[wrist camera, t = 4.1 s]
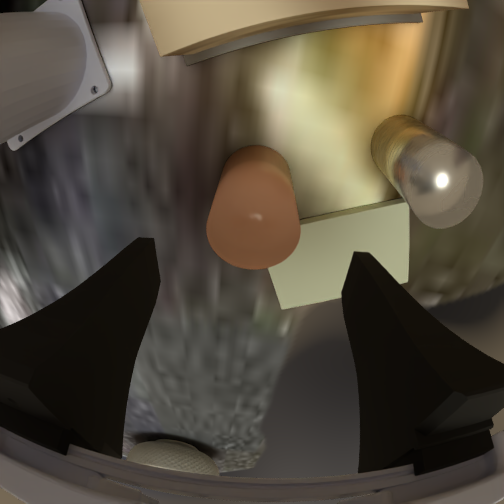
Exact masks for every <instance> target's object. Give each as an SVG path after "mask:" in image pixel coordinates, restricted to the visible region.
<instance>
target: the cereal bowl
mask: <svg viewBox="0 0 504 504" xmlns="http://www.w3.org/2000/svg"><path fill="white" fill-rule="evenodd" d="M126 461H130V462H135V463H139V464H144V465H149V466H154V467H159V468H164V469H170V470H176V471H182V472H189V473H197V474H205V475H215V476H219V470H218V467H217V465H216V464H215V462H214V461H213V460H212V459H211V458H210V457H209V456H207V455H206V454H204V453H202V452H200V451H198V450H197V448H196V447H194V446H192V445H190V444H187V443H184V442H181V441H176V440H170V439H159V440H156V441H148V442H143V443H140V444H137V445H136V446H134V447H133V448H132V449H131V450H130V452H129V454H128V456H127V459H126Z"/></svg>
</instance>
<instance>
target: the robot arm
mask: <svg viewBox="0 0 504 504" xmlns="http://www.w3.org/2000/svg"><path fill="white" fill-rule="evenodd" d="M95 86H97V88H98V92H97V93H95V92H94V87H95ZM110 89H111V81H110V79H109V76H108V74H107V71H106V68H105V66H104V63H103V61H102V58H101V55H100V53H99V50H98V47H97V44H96V42H95V39H94V36H93V33H92V31H91V28H90V25H89V22H88V19H87V16H86V13H85V10H84V7H83V4H82V1H81V0H47V1H46V2H45V3H43V4H42V5H41V6H40V7H38V8H37V9H36V10H35V11H33V12H11V13H0V144H2V143H4V142H6V141H7V143H8V145H9V147H10V149H11V150H12V151H15V150H17V149H19V148H20V147H21V146H23V145H24V144H25V143H27V142H28V141H29V140H31V139H32V138H34V137H35V136H37V135H38V134H39V133H41V132H42V131H44V130H45V129H47V128H48V127H50V126H51V125H53V124H54V123H56V122H57V121H59V120H61V119H62V118H64V117H65V116H67V115H69V114H70V113H72V112H74V111H75V110H77V109H79V108H80V107H82V106H84V105H86V104H87V103H89V102H91V101H93V100H94V99H96V98H98V97H100V96H102V95H104V94H106V93H107V92H108V91H109V90H110ZM21 136H22V137H23V139H22V137H21ZM160 282H161V280H160V274H159V268H158V262H157V256H156V249H155V242H154V238H141V237H138V238H137V239H136V240H134V241H133V242H132V243H131V244H129V245H128V246H127V247H126V248H124V249H123V250H122V251H121V252H120V253H119V254H117V255H116V256H115V257H114V258H113V259H111V260H110V261H109V262H108V263H107V264H105V265H104V266H103V267H102V268H101V269H99V270H98V271H97V272H95V273H94V274H93V275H92V276H90V277H89V278H88V279H87V280H85V281H84V282H83V283H82V284H80V285H79V286H77V287H76V288H75V289H73V290H72V291H70V292H69V293H67V294H66V295H64V296H63V297H61V298H60V299H58V300H57V301H55V302H53V303H52V304H50V305H48V306H46V307H45V308H43V309H41V310H39V311H38V312H36V313H34V314H32V315H30V316H28V317H26V318H24V319H22V320H20V321H18V322H16V323H13V324H11V325H9V326H6V327H4V328H1V329H0V487H1V488H2V489H4V490H5V491H7V492H8V493H10V494H12V495H13V496H15V497H16V498H18V499H20V500H21V501H23V502H25V503H27V504H159V501H158V500H156V499H153V498H151V497H148V496H146V495H144V494H142V492H141V491H140V490H137V489H134V488H131V487H128V486H125V485H122V484H119V483H116V482H113V481H110V480H107V479H106V478H108V479H111V480H115V481H118V482H122V483H125V484H130V485H133V486H138V487H142V488H147V489H151V490H156V491H161V492H167V493H173V494H179V495H185V496H192V497H200V498H208V499H217V500H229V501H246V502H298V501H299V502H300V501H317V500H328V499H338V498H346V497H353V496H361V495H366V496H362V497H357V498H352V499H347V500H342V501H339V502H338V503H337V504H496V503H497V502H499V501H501V500H502V499H504V430H503V431H500V432H498V433H496V434H494V435H492V436H491V434H490V431H489V429H491V428H493V425H494V424H493V421H492V417H493V416H494V415H495V414H497V413H498V412H499V411H500V410H501V409H503V408H504V364H503V363H501V362H499V361H497V360H495V359H493V358H491V357H490V356H488V355H486V354H484V353H483V352H481V351H479V350H478V349H476V348H475V347H473V346H472V345H470V344H469V343H467V342H466V341H464V340H462V339H461V338H460V337H458V336H457V335H456V334H454V333H453V332H452V331H450V330H449V329H448V328H447V327H445V326H444V325H443V324H441V323H440V322H439V321H438V320H437V319H436V318H434V317H433V316H432V315H431V314H430V313H429V312H428V311H426V310H425V309H424V308H423V307H422V306H421V305H420V304H419V303H418V302H417V301H416V300H415V299H414V298H413V297H412V296H411V295H410V294H409V293H408V292H407V291H406V290H405V289H404V288H403V287H402V286H401V285H400V284H399V283H398V282H397V281H396V280H395V279H394V277H393V276H392V275H391V274H390V273H389V272H388V271H387V270H386V269H385V268H384V267H383V266H382V265H381V264H380V262H379V261H378V260H377V259H376V258H375V257H374V256H373V255H372V254H370V253H369V252H359V251H354V252H353V255H352V259H351V262H350V265H349V269H348V272H347V275H346V279H345V282H344V285H343V288H342V291H341V297H342V306H343V314H344V320H345V324H346V328H347V332H348V337H349V341H350V345H351V349H352V353H353V357H354V362H355V367H356V372H357V380H358V392H359V407H360V453H359V467H358V474H350V475H340V476H329V477H315V478H287V479H268V478H266V479H264V478H240V477H226V476H215V475H205V474H197V473H189V472H182V471H176V470H170V469H164V468H159V467H154V466H149V465H144V464H139V463H135V462H130V461H126V460H122V459H121V458H122V447H123V433H124V423H125V414H126V406H127V400H128V394H129V388H130V383H131V378H132V373H133V368H134V364H135V360H136V357H137V353H138V350H139V348H140V345H141V342H142V339H143V336H144V334H145V331H146V328H147V326H148V323H149V320H150V317H151V315H152V312H153V309H154V306H155V303H156V299H157V295H158V291H159V287H160ZM373 493H374V494H373ZM367 494H370V495H367Z"/></svg>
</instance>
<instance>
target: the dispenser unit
mask: <svg viewBox="0 0 504 504" xmlns="http://www.w3.org/2000/svg"><path fill="white" fill-rule="evenodd" d="M140 3H141V5H142V8H143V11H144V14H145V16H146V19H147V22H148V25H149V27H150V30H151V33H152V35H153V38H154V41H155V44H156V46H157V49H158V52H159V54H160V57H162V56H174V55H183V57H184V60H185V63H186V66H189V65H192V64H195V63H197V62H200V61H203V60H206V59H209V58H212V57H215V56H218V55H221V54H225V53H228V52H231V51H234V50H238V49H241V48H245V47H249V46H252V45H256V44H260V43H264V42H268V41H272V40H276V39H281V38H285V37H290V36H295V35H300V34H305V33H311V32H317V31H323V30H329V29H336V28H344V27H352V26H362V25H374V24H389V23H420V22H423V20H422V16H421V13H425V12H433V11H443V10H455V9H469V7H468V3H467V0H140Z"/></svg>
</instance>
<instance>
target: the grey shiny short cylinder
mask: <svg viewBox="0 0 504 504" xmlns="http://www.w3.org/2000/svg"><path fill="white" fill-rule="evenodd" d="M371 153H372V157H373V160H374V162H375V164H376V165H377V167H378V168H379V169H380V170H381V171H382V172H383V174H384V175H385V176H386V177H387V179H388V180H389V181H390V182H391V183H392V185H393V186H394V187H395V188H396V190H397V191H398V192H399V193H400V195H401V196H402V197H403V199H404V200H405V201H406V202H407V204H408V205H409V206H410V208H411V209H412V210H413V212H414V213H415V214H416V216H417V217H418V218H419V220H420V221H422V222H423V223H424V224H425V225H427V226H429V227H432V228H438V229H441V228H448V227H452V226H454V225H456V224H458V223H460V222H461V221H463V220H464V219H465V218H466V217H467V216H469V214H470V213H471V212H472V211H473V209H474V208H475V206H476V205H477V203H478V201H479V199H480V196H481V192H482V187H483V175H482V170H481V167H480V165H479V163H478V161H477V160H476V158H475V157H474V156H473V155H472V154H471V153H469V152H468V151H466V150H465V149H463V148H462V147H460V146H459V145H457V144H456V143H454V142H453V141H451V140H450V139H448V138H447V137H445V136H443V135H442V134H440V133H439V132H437V131H435V130H434V129H432V128H430V127H429V126H427V125H425V124H424V123H422V122H420V121H418V120H417V119H415V118H413V117H411V116H407V115H396V116H392V117H390V118H388V119H386V120H384V121H383V122H382V123H381V124H380V125H379V126H378V127H377V129H376V131H375V132H374V135H373V137H372V142H371Z"/></svg>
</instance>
